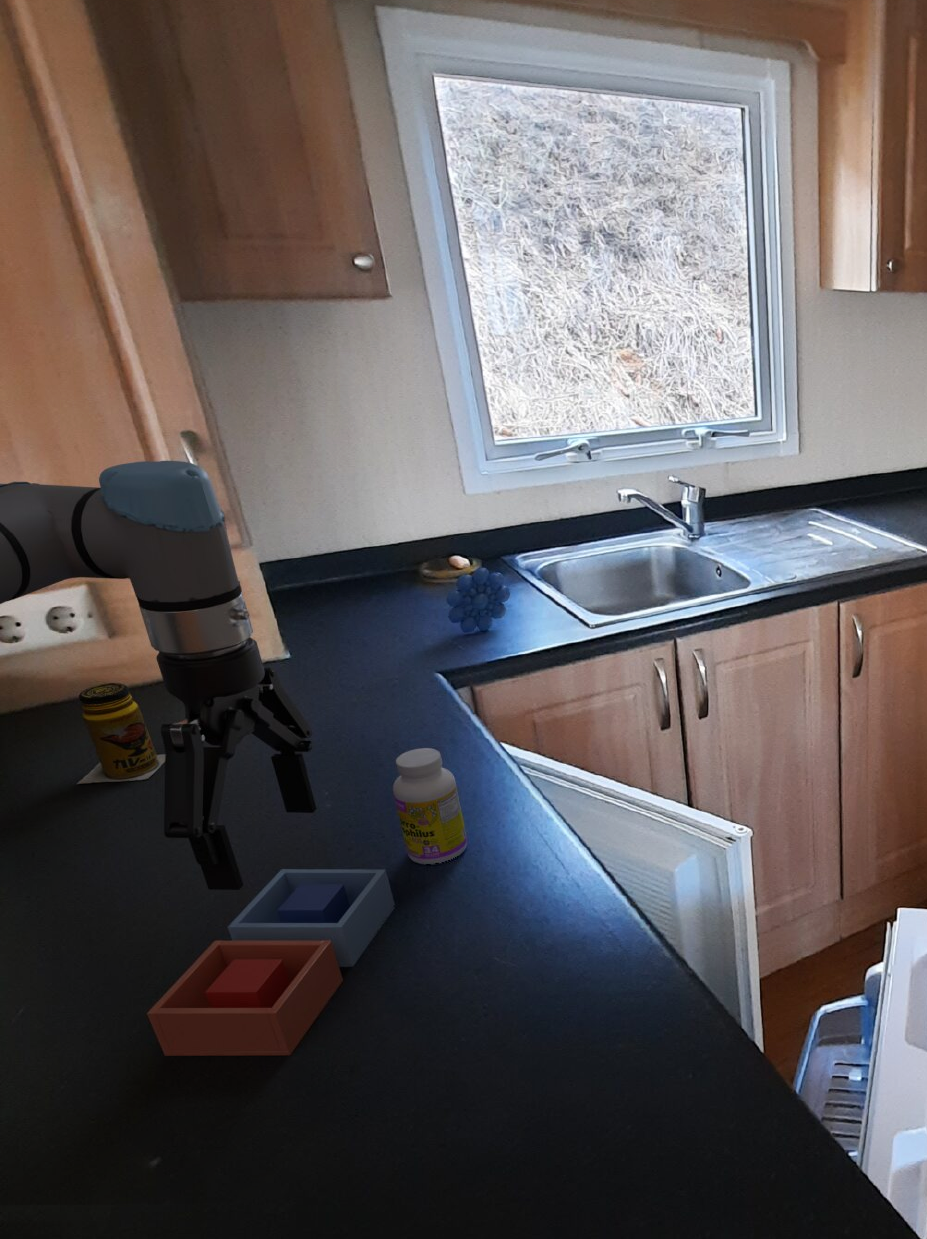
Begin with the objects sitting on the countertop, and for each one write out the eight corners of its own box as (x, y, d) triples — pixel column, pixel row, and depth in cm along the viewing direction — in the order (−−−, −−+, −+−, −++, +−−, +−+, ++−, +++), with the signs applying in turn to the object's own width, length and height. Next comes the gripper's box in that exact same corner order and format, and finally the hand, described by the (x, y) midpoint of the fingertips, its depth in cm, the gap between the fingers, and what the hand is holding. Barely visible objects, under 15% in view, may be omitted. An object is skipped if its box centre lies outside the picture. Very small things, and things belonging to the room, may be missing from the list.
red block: (219, 1030, 88) (204, 992, 86) (247, 996, 92) (233, 959, 90) (269, 1029, 89) (256, 991, 87) (294, 996, 93) (282, 959, 91)
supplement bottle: (395, 859, 114) (371, 764, 108) (438, 832, 120) (417, 739, 114) (440, 872, 112) (417, 775, 106) (481, 843, 118) (462, 750, 112)
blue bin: (241, 967, 97) (227, 927, 95) (293, 906, 106) (281, 868, 104) (352, 967, 97) (341, 927, 95) (395, 907, 106) (385, 869, 104)
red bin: (164, 1056, 86) (146, 1013, 84) (229, 980, 95) (214, 940, 93) (290, 1055, 87) (275, 1013, 84) (343, 980, 95) (331, 940, 93)
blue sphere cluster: (507, 618, 189) (497, 558, 183) (519, 628, 184) (509, 566, 179) (445, 630, 182) (433, 568, 177) (456, 640, 178) (444, 577, 172)
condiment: (148, 779, 130) (118, 698, 125) (76, 785, 128) (43, 703, 123) (172, 755, 136) (145, 676, 131) (104, 759, 135) (73, 680, 129)
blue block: (288, 945, 99) (277, 910, 97) (310, 918, 103) (300, 884, 101) (333, 945, 99) (322, 910, 97) (353, 918, 103) (343, 884, 101)
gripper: (159, 704, 74) (232, 926, 84) (319, 599, 97) (362, 784, 106) (58, 702, 74) (143, 925, 84) (242, 597, 96) (292, 783, 106)
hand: (266, 847), depth 95 cm, fingers open, 13 cm apart
